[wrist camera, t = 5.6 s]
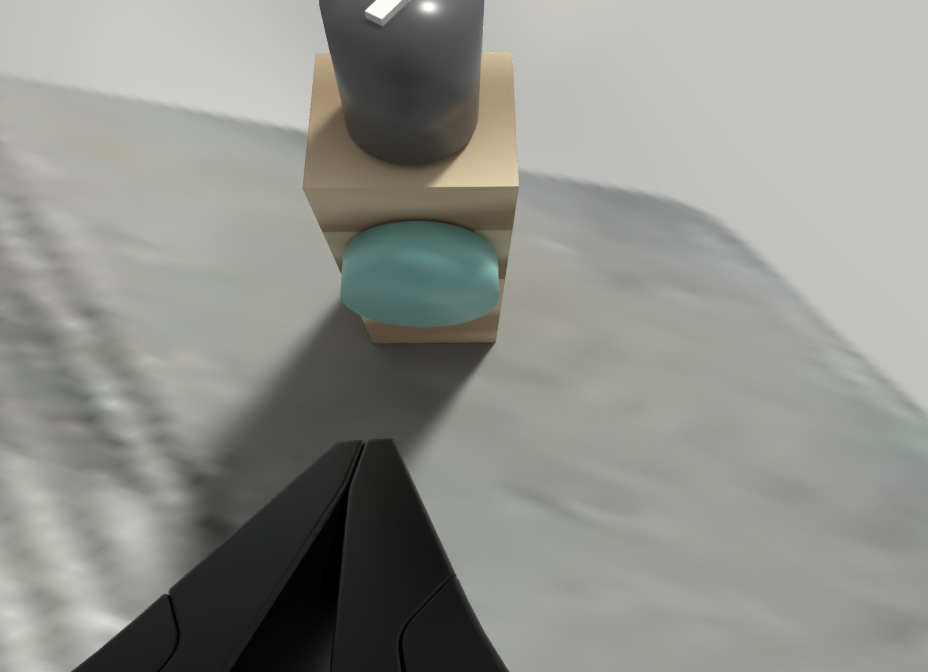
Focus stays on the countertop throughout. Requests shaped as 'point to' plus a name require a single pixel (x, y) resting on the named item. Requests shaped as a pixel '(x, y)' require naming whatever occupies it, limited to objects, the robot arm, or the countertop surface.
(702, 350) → the countertop surface
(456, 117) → the dial
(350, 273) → the knob
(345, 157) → the mount
